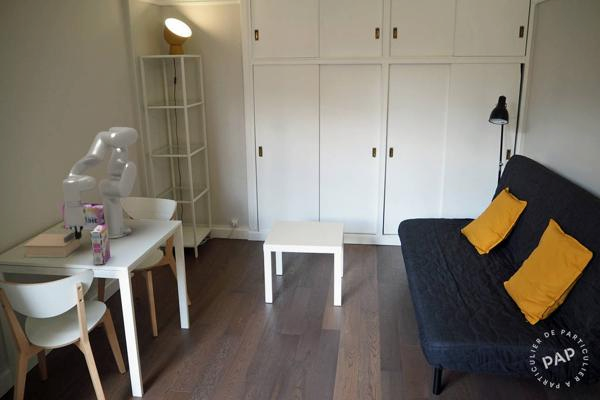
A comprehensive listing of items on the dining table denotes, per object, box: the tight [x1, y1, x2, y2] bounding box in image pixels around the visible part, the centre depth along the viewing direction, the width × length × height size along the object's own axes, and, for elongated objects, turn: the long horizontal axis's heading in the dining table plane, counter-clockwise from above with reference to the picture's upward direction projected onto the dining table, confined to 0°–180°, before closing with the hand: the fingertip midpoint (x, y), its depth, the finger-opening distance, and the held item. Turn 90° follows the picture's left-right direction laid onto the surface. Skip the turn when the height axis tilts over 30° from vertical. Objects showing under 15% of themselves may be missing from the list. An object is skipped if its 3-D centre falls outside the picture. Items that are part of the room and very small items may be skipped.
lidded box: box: [24, 238, 82, 258], centre depth 258 cm, size 20×16×5 cm
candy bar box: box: [90, 225, 111, 266], centre depth 244 cm, size 11×5×16 cm, turn 5°
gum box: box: [61, 202, 105, 231], centre depth 291 cm, size 24×8×14 cm, turn 78°
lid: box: [23, 231, 75, 248], centre depth 257 cm, size 21×17×3 cm
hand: (78, 238), depth 256 cm, fingers closed
